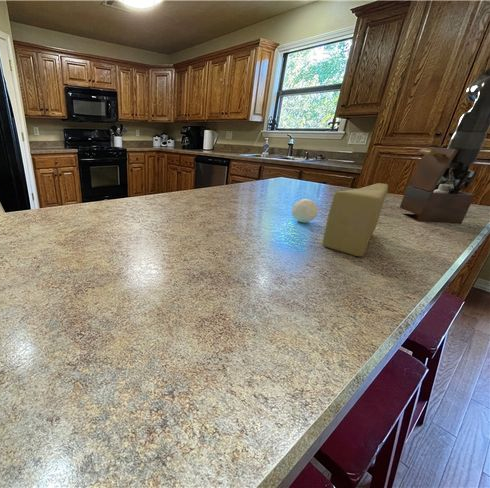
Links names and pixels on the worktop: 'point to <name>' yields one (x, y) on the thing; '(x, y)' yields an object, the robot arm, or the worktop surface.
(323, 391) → the worktop surface
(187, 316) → the worktop surface
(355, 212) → the cheese
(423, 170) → the lid
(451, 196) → the chest
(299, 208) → the ball
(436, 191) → the supplement bottle
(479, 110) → the robot arm
